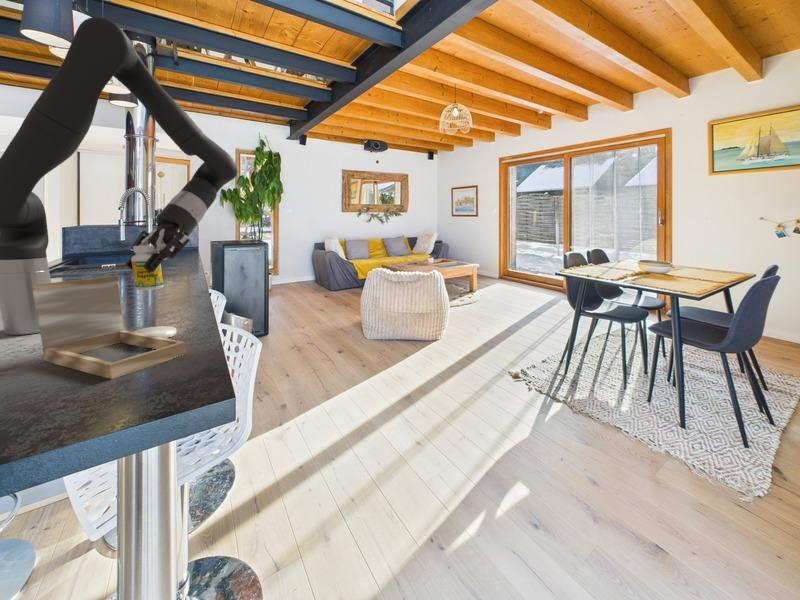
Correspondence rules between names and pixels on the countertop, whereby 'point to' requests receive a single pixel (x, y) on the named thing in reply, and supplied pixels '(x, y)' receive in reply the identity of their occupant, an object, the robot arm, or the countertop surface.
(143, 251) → the supplement bottle
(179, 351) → the cold frame
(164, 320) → the countertop surface
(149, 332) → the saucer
